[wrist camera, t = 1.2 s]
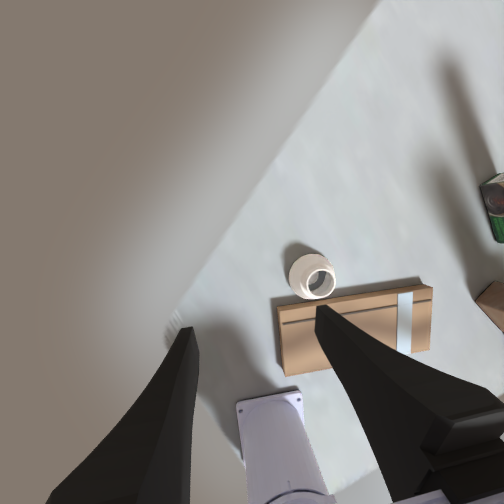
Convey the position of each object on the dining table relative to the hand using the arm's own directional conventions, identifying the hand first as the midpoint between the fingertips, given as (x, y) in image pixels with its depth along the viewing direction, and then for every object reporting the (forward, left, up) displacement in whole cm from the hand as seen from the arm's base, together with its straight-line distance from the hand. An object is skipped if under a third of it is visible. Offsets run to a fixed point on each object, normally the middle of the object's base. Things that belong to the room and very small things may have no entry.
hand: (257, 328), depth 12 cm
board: (-8, -12, -11) cm, 18 cm away
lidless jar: (-1, -7, -11) cm, 13 cm away
